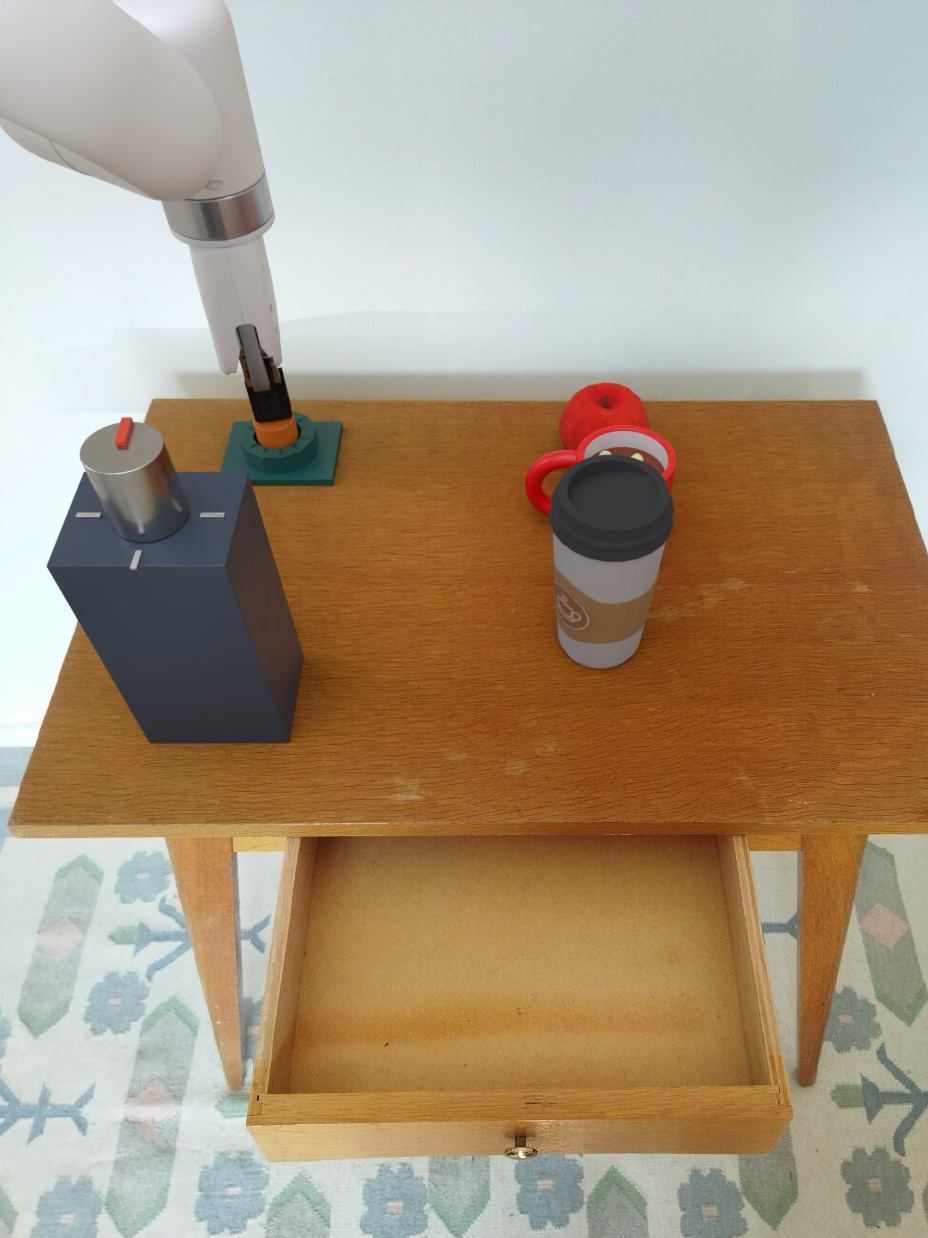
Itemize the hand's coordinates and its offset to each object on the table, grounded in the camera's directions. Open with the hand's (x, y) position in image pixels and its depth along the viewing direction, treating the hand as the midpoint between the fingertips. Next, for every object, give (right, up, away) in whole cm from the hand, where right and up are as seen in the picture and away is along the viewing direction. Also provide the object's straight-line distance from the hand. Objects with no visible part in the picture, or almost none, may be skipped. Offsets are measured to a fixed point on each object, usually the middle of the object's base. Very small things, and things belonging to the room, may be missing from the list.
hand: (273, 414), depth 82 cm
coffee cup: (+28, -20, -9) cm, 35 cm away
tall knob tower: (0, -25, -12) cm, 28 cm away
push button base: (0, -3, +4) cm, 4 cm away
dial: (0, -14, -27) cm, 31 cm away
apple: (+29, -3, +4) cm, 29 cm away
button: (0, -1, +2) cm, 2 cm away
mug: (+28, -10, -1) cm, 30 cm away
